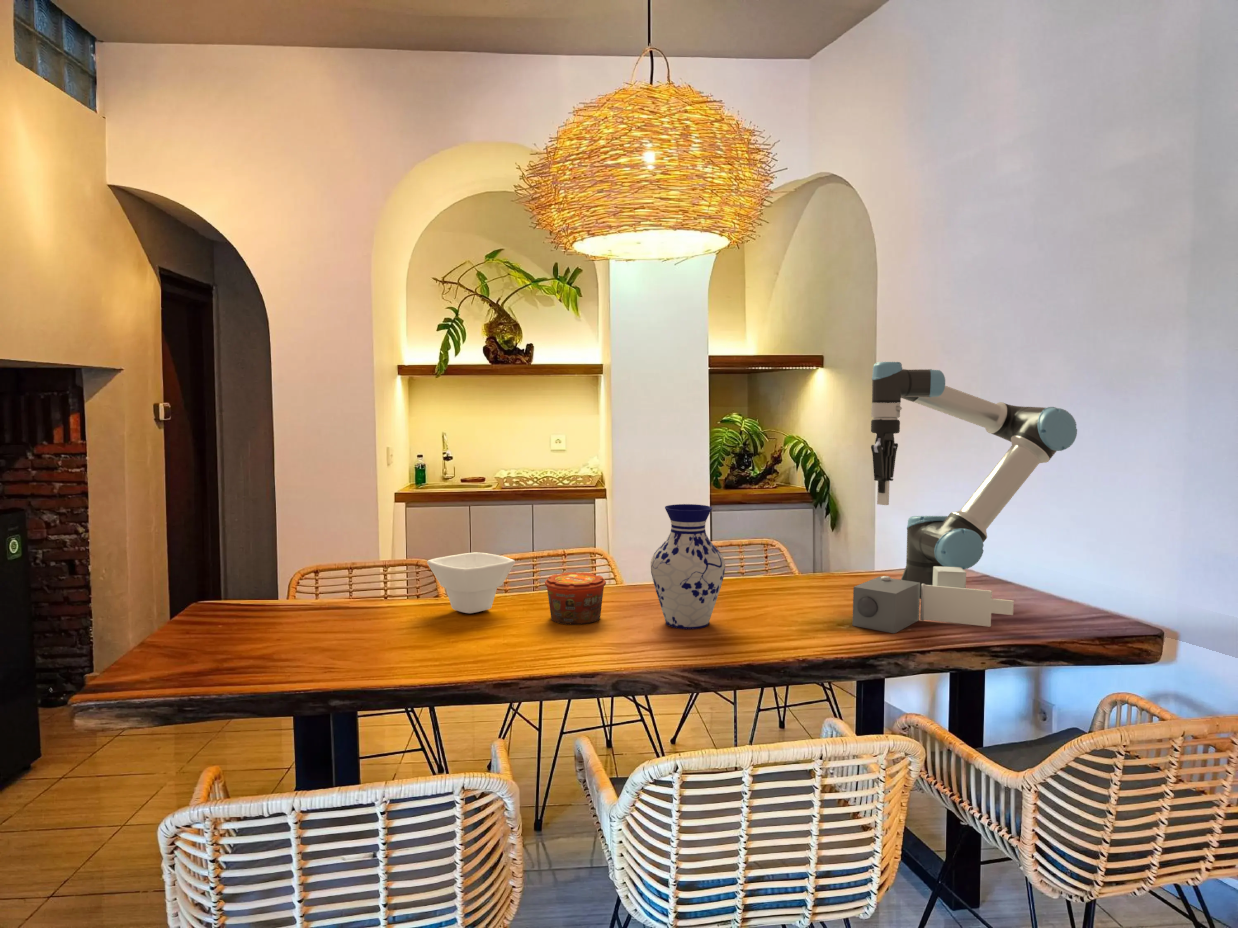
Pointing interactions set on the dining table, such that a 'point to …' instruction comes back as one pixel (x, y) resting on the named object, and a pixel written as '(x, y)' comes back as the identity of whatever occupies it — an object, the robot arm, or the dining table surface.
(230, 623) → the dining table surface
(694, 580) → the vase
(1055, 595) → the dining table surface
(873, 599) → the camera box
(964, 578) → the supplement box
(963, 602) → the side door
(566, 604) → the food container
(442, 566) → the bowl
